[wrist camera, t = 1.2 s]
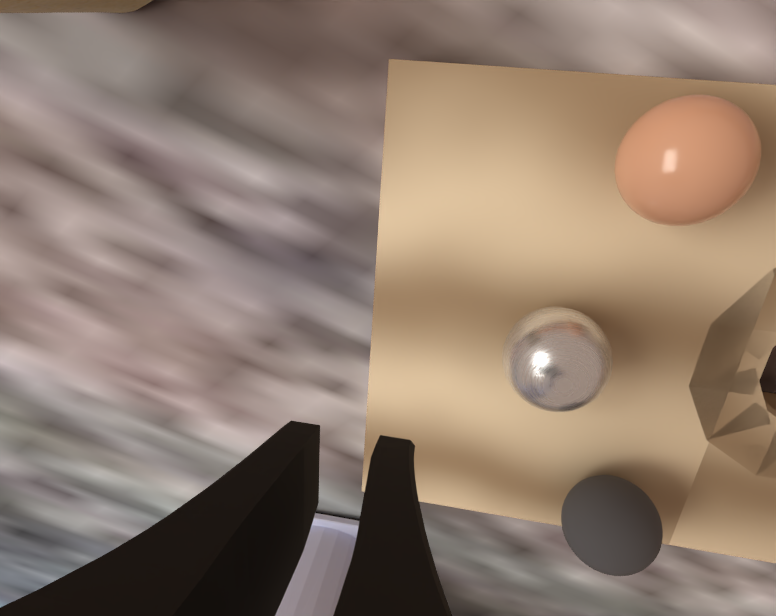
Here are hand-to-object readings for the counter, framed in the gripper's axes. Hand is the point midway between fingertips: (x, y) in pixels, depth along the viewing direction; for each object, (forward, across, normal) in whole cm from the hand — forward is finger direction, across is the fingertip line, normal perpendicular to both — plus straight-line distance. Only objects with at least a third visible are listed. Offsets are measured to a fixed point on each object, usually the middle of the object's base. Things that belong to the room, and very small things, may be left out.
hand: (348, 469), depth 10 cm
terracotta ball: (+6, -7, -6) cm, 11 cm away
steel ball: (+6, -5, 0) cm, 8 cm away
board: (+10, -9, 0) cm, 14 cm away
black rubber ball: (+6, -8, +6) cm, 12 cm away
